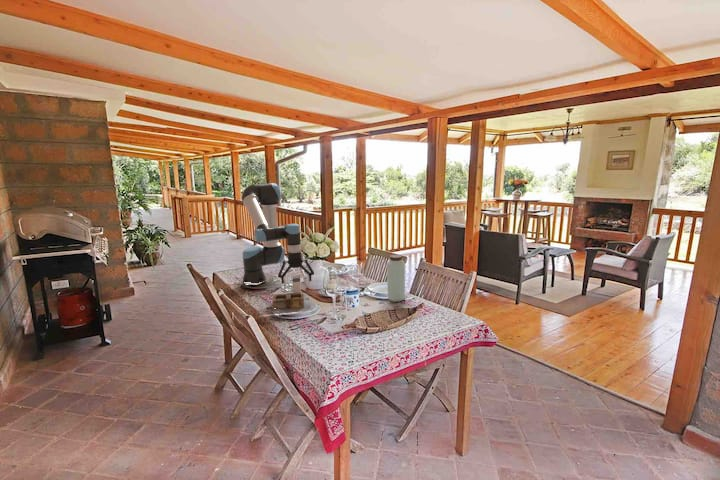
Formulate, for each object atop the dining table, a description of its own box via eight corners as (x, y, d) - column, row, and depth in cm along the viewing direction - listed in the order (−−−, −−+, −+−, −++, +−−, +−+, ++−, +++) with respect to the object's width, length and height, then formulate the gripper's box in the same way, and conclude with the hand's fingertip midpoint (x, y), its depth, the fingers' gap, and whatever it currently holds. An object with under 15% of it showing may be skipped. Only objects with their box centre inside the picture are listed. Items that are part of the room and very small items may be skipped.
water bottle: (384, 301, 198) (384, 257, 192) (390, 294, 207) (389, 253, 201) (402, 303, 194) (402, 259, 188) (407, 296, 203) (406, 254, 198)
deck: (289, 296, 209) (289, 294, 209) (306, 295, 210) (306, 293, 210) (288, 302, 199) (288, 301, 199) (306, 301, 201) (306, 299, 200)
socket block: (274, 304, 197) (274, 294, 196) (304, 302, 199) (303, 291, 198) (273, 312, 187) (272, 301, 186) (304, 309, 190) (303, 298, 188)
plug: (294, 296, 206) (292, 276, 204) (301, 295, 207) (299, 276, 204) (294, 298, 202) (292, 278, 200) (301, 298, 203) (299, 278, 200)
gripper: (271, 254, 193) (274, 291, 198) (317, 251, 197) (319, 287, 201) (272, 251, 201) (275, 287, 205) (316, 248, 204) (318, 283, 208)
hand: (297, 287), depth 203 cm, fingers open, 13 cm apart
